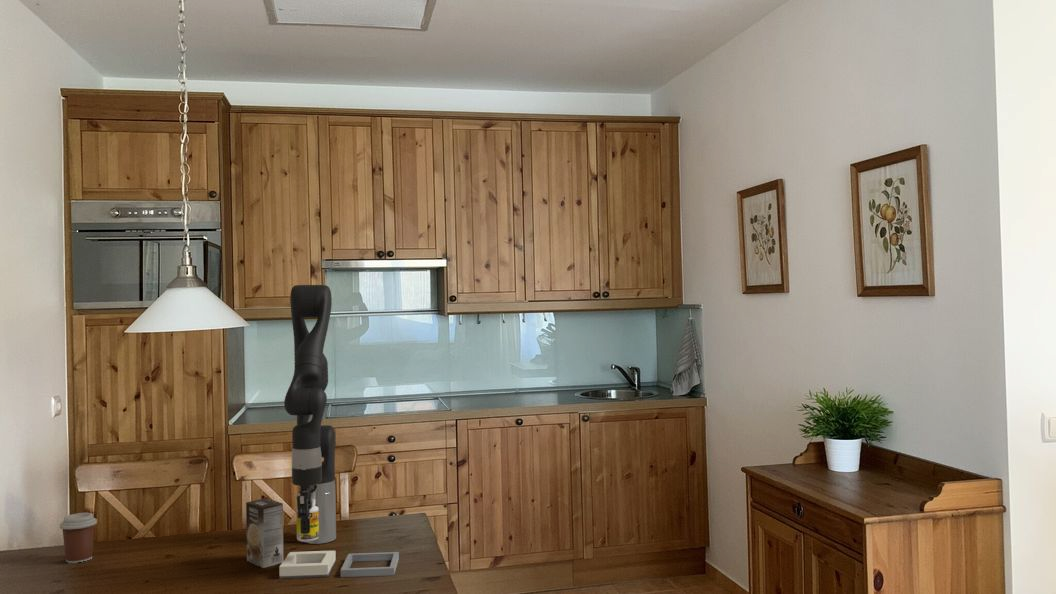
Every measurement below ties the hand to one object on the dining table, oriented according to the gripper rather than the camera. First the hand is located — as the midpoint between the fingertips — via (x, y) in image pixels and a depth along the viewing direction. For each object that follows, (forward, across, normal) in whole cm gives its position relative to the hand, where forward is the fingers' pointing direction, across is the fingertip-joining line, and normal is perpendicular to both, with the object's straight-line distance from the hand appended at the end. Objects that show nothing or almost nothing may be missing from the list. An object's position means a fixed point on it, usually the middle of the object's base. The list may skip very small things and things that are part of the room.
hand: (307, 529), depth 215 cm
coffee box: (+11, -8, -13) cm, 19 cm away
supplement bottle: (+3, 0, 0) cm, 3 cm away
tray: (+10, 0, +16) cm, 19 cm away
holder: (+10, 0, 0) cm, 10 cm away
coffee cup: (+11, -16, -65) cm, 68 cm away
